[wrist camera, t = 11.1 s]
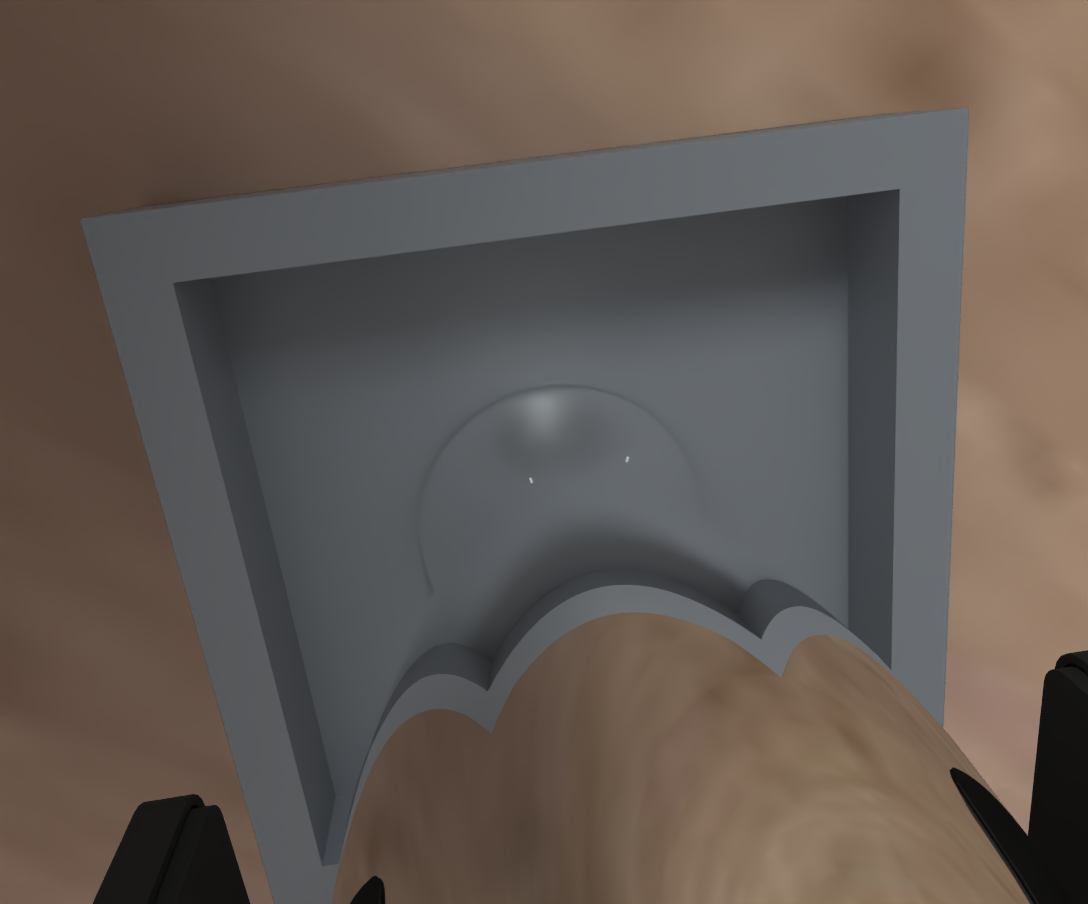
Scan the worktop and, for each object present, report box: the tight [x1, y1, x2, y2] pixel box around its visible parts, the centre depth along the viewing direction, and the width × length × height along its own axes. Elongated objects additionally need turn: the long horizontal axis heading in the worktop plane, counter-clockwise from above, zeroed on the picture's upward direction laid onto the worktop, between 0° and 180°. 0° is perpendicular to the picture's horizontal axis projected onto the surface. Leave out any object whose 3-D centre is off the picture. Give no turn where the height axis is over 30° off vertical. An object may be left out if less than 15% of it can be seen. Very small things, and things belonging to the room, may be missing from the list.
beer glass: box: [330, 386, 1076, 904], centre depth 12 cm, size 7×7×15 cm
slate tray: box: [80, 107, 969, 904], centre depth 19 cm, size 15×15×3 cm
